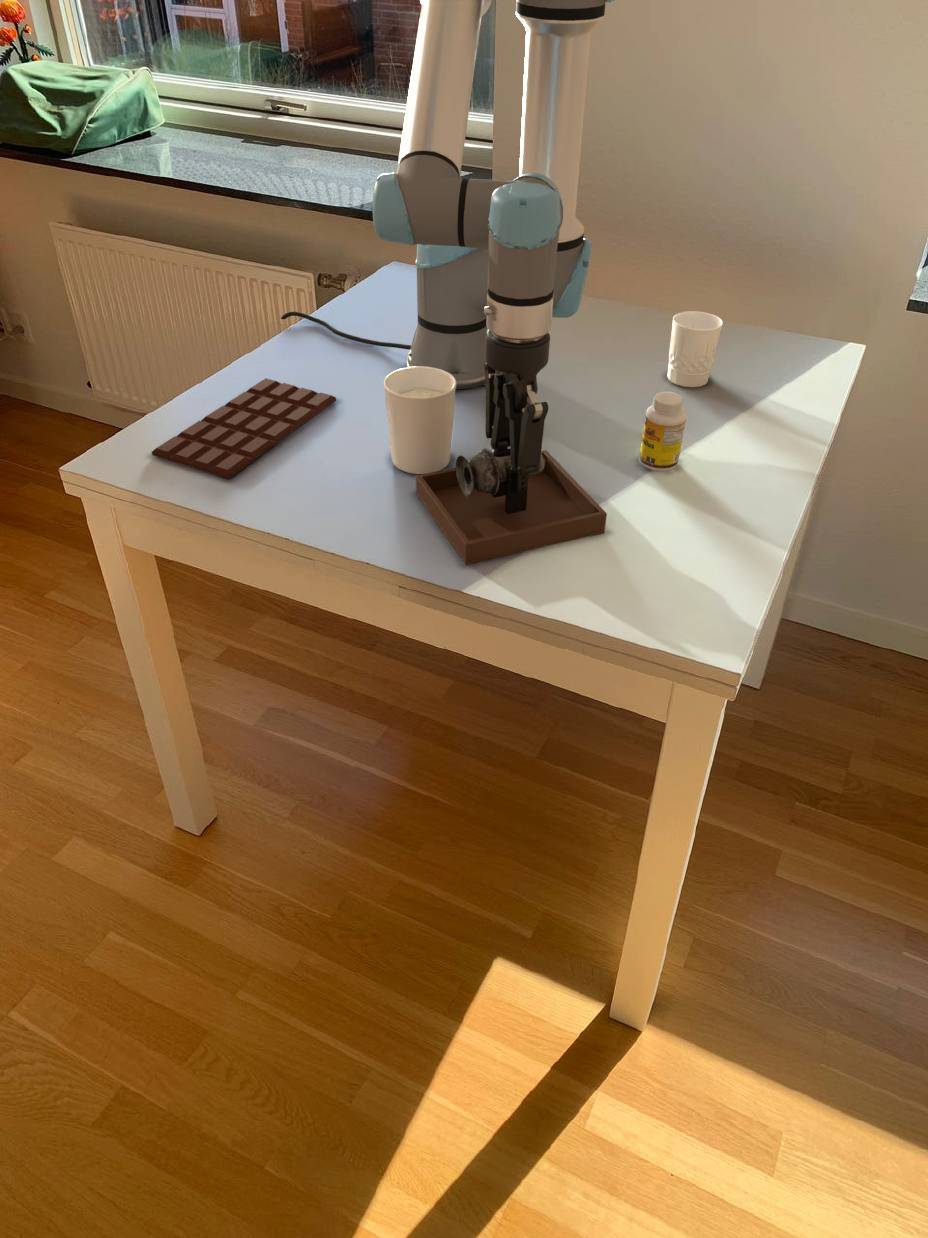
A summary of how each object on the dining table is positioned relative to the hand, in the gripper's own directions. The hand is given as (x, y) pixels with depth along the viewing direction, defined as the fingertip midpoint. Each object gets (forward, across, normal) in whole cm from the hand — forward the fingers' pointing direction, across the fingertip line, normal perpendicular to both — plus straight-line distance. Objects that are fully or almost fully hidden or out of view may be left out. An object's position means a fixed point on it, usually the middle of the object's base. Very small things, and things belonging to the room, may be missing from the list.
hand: (508, 502), depth 126 cm
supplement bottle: (+2, -4, +26) cm, 26 cm away
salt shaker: (-5, 0, -7) cm, 8 cm away
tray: (+2, 0, 0) cm, 2 cm away
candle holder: (+2, -17, -6) cm, 18 cm away
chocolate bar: (+2, -35, -26) cm, 44 cm away
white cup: (+2, -26, +45) cm, 52 cm away
